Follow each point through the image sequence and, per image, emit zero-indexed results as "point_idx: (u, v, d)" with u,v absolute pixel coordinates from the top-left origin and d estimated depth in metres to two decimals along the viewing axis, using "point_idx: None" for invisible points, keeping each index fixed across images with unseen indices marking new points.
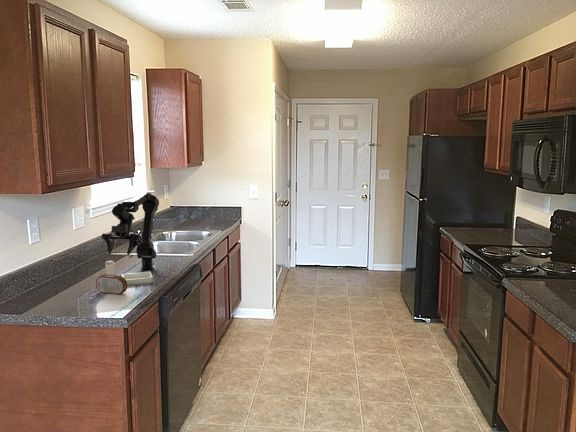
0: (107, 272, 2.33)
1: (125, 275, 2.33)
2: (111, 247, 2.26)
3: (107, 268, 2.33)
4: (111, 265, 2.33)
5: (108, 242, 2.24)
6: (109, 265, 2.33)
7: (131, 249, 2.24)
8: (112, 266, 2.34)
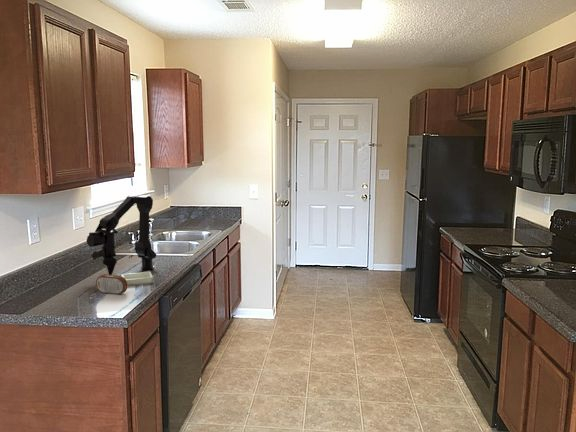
0: (107, 272, 2.33)
1: (125, 275, 2.33)
2: None
3: None
4: None
5: None
6: None
7: (110, 269, 2.32)
8: None
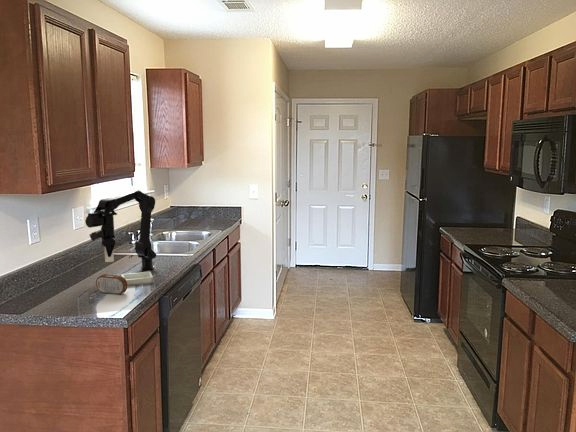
0: (106, 254, 2.32)
1: (125, 275, 2.33)
2: None
3: (106, 250, 2.31)
4: None
5: None
6: None
7: (109, 251, 2.31)
8: None
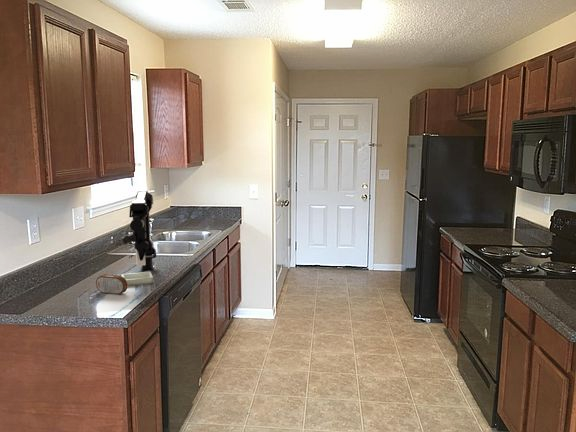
0: (138, 257, 2.28)
1: (125, 275, 2.33)
2: None
3: None
4: None
5: None
6: None
7: (141, 254, 2.27)
8: None
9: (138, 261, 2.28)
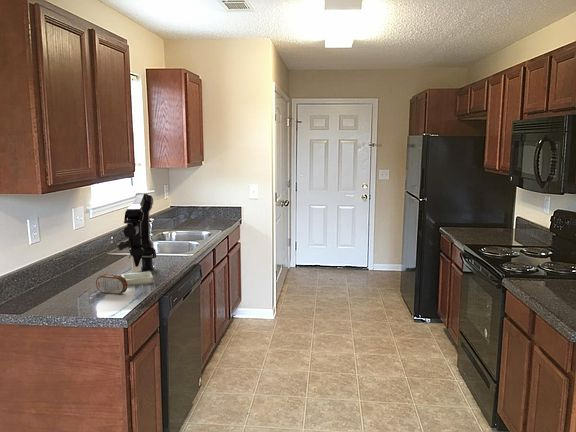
0: (133, 263, 2.27)
1: (125, 275, 2.33)
2: None
3: (133, 259, 2.27)
4: None
5: None
6: None
7: (137, 260, 2.27)
8: None
9: (133, 267, 2.28)
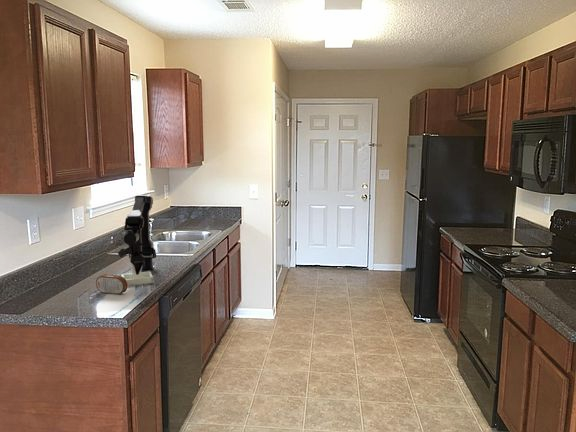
0: (134, 273, 2.28)
1: (125, 275, 2.33)
2: None
3: (134, 269, 2.28)
4: None
5: None
6: None
7: (138, 269, 2.25)
8: None
9: (134, 277, 2.28)
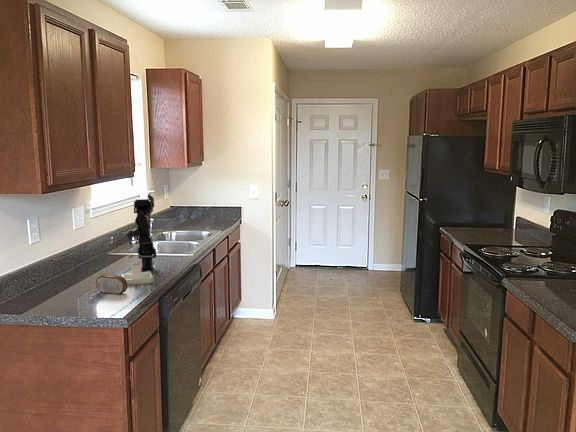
0: (134, 273, 2.28)
1: (125, 275, 2.33)
2: None
3: (134, 269, 2.28)
4: (138, 266, 2.28)
5: None
6: (136, 266, 2.28)
7: (145, 250, 2.35)
8: (139, 267, 2.29)
9: (134, 277, 2.28)
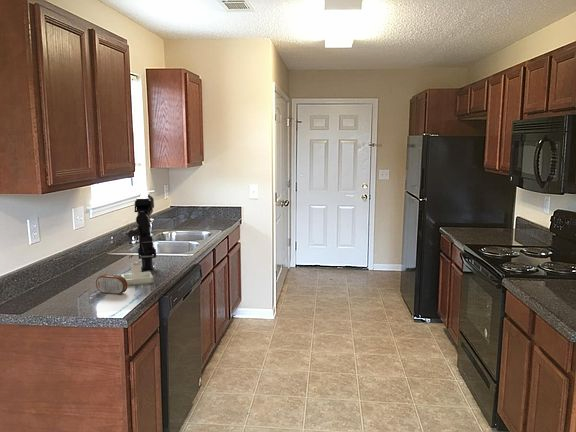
0: (134, 273, 2.28)
1: (125, 275, 2.33)
2: None
3: (134, 269, 2.28)
4: (138, 266, 2.28)
5: None
6: (136, 266, 2.28)
7: (146, 249, 2.35)
8: (139, 267, 2.29)
9: (134, 277, 2.28)
